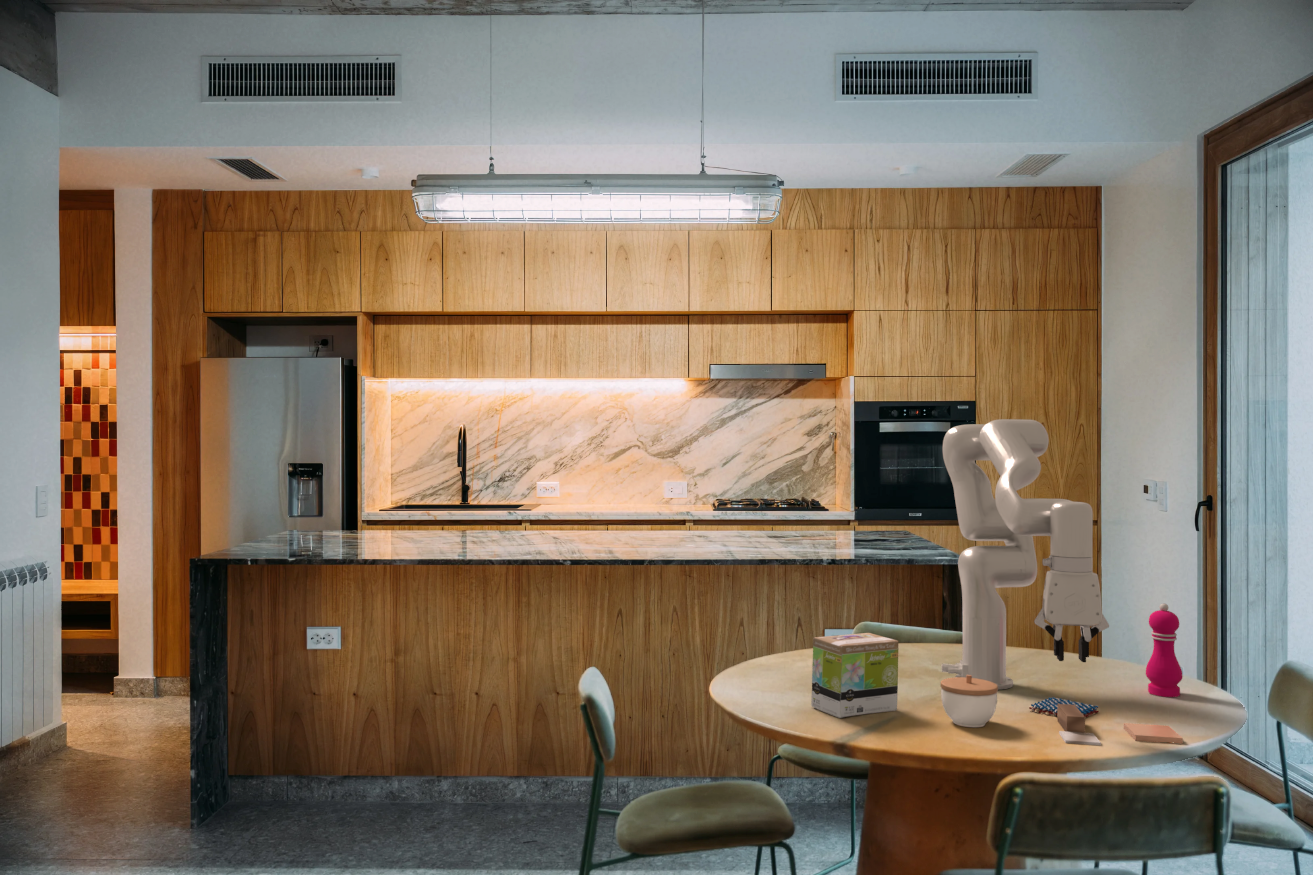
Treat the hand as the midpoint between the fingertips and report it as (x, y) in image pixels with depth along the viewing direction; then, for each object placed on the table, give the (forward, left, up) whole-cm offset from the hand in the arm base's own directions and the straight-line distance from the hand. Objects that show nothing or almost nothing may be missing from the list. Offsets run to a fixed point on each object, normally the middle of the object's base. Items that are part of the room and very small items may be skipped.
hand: (1071, 659), depth 184 cm
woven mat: (+1, +12, -14) cm, 18 cm away
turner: (0, -3, -13) cm, 14 cm away
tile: (+14, +2, -13) cm, 19 cm away
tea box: (-41, +4, -14) cm, 43 cm away
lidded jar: (-19, -1, -13) cm, 23 cm away
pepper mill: (+26, +33, -13) cm, 44 cm away
